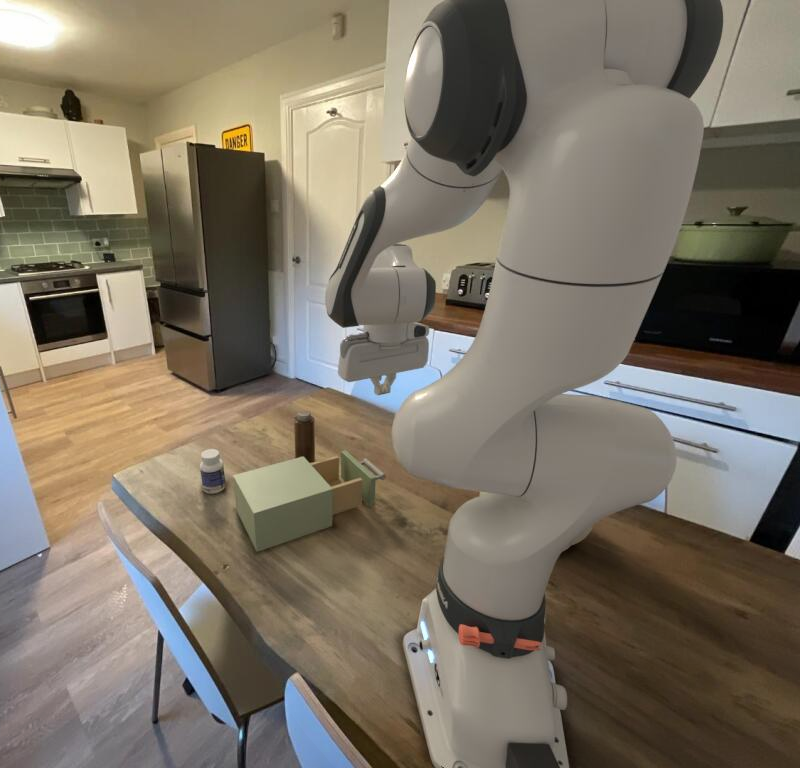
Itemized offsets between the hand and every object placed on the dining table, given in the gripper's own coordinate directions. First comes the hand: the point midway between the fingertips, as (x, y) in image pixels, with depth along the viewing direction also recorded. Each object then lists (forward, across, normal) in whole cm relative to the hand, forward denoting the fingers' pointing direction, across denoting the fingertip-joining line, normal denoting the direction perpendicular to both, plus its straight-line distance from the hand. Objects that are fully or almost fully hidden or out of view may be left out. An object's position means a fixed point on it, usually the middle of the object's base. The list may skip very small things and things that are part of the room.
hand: (382, 393), depth 86 cm
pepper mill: (+21, -13, +12) cm, 28 cm away
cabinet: (+22, -25, -3) cm, 33 cm away
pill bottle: (+22, -35, +14) cm, 43 cm away
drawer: (+21, -12, -3) cm, 24 cm away
